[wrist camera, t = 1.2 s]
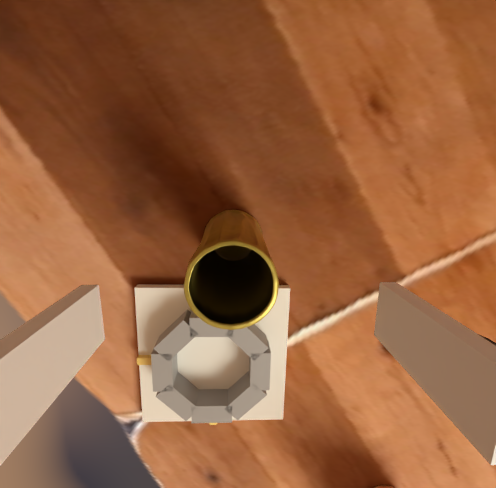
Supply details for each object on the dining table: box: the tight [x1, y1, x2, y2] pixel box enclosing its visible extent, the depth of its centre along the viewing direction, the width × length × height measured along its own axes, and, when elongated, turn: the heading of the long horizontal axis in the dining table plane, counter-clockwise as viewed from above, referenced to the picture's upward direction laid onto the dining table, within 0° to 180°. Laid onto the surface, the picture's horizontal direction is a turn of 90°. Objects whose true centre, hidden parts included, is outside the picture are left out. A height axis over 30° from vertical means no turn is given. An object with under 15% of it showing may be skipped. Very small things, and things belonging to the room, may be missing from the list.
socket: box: [134, 284, 290, 425], centre depth 30 cm, size 16×16×4 cm
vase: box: [184, 210, 279, 330], centre depth 22 cm, size 6×6×14 cm
